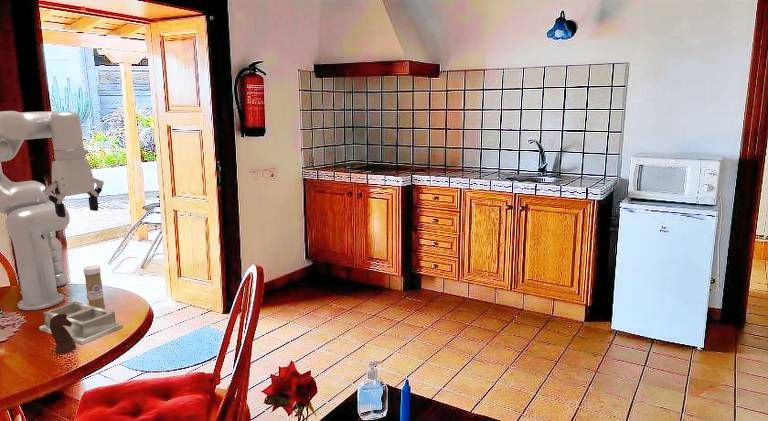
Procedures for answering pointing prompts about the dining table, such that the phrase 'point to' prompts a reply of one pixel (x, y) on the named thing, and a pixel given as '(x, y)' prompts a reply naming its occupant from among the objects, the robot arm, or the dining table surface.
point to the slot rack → (83, 321)
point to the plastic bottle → (56, 258)
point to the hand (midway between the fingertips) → (78, 213)
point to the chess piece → (62, 334)
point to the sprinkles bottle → (94, 286)
